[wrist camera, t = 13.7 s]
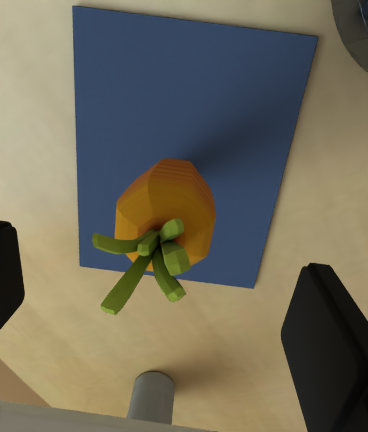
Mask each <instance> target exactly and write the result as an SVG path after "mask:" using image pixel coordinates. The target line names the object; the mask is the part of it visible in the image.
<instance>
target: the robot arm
mask: <svg viewBox="0 0 368 432" xmlns="http://www.w3.org/2000/svg"><path fill="white" fill-rule="evenodd" d="M24 296H25V291H24V284H23V276H22V268H21V261H20V253H19V245H18V238H17V231H16V229H15V228H14V227H12V225H11V223H9V222H6V221H0V329H1V328H2V327H3V326H4V324H5V323H6V322H7V321H8V320H9V318H10V317H11V316H12V315H13V314H14V312H15V311H16V310H17V309H18V308H19V306H20V305H21V304H22V302H23V300H24ZM281 340H282V344H283V347H284V351H285V354H286V358H287V361H288V365H289V368H290V372H291V375H292V379H293V382H294V385H295V389H296V392H297V396H298V399H299V403H300V406H301V410H302V413H303V417H304V420H305V423H306V427H307V430H308V432H368V321H367V319H366V318H365V316H364V315H363V313H362V312H361V310H360V309H359V308H358V306H357V305H356V303H355V302H354V300H353V299H352V297H351V296H350V294H349V293H348V291H347V290H346V288H345V287H344V285H343V284H342V282H341V281H340V279H339V278H338V276H337V275H336V273H335V272H334V270H333V269H332V267H331V266H330V265H325V264H317V263H309V265H308V266H307V267H306V266H304V267H303V268H302V269H301V272H300V275H299V278H298V281H297V284H296V287H295V290H294V293H293V296H292V299H291V302H290V305H289V308H288V311H287V314H286V317H285V320H284V323H283V326H282V329H281ZM0 432H216V431H210V430H203V429H196V428H190V427H183V426H176V425H170V424H163V423H156V422H149V421H142V420H135V419H129V418H122V417H115V416H108V415H101V414H94V413H87V412H80V411H73V410H66V409H59V408H52V407H45V406H37V405H31V404H24V403H16V402H9V401H2V400H0Z"/></svg>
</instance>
